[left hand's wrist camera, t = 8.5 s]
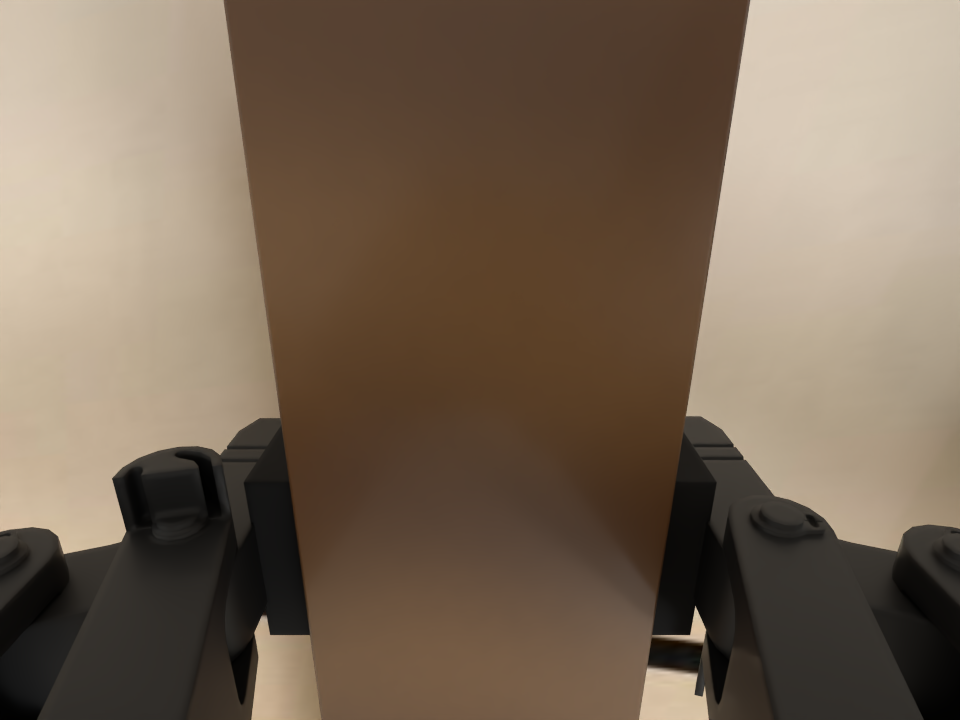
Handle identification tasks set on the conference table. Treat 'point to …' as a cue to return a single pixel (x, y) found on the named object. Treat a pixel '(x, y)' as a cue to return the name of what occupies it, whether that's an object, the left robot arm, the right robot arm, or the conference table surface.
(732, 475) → the left robot arm
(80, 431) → the conference table surface
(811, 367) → the conference table surface
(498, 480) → the post
